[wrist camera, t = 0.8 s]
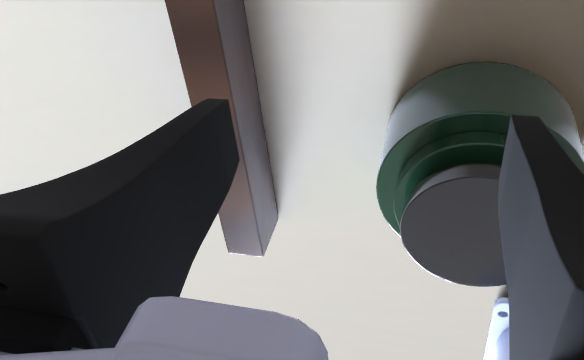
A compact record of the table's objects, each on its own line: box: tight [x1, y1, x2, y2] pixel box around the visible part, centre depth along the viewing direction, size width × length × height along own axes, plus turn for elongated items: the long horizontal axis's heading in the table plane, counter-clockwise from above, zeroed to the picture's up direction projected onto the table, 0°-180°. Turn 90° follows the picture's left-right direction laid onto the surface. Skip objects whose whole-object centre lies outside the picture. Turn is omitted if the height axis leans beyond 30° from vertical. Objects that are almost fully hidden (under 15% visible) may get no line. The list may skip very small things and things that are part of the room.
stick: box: [165, 0, 278, 257], centre depth 26 cm, size 14×2×3 cm, turn 6°
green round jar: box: [376, 62, 584, 287], centre depth 22 cm, size 8×8×6 cm
